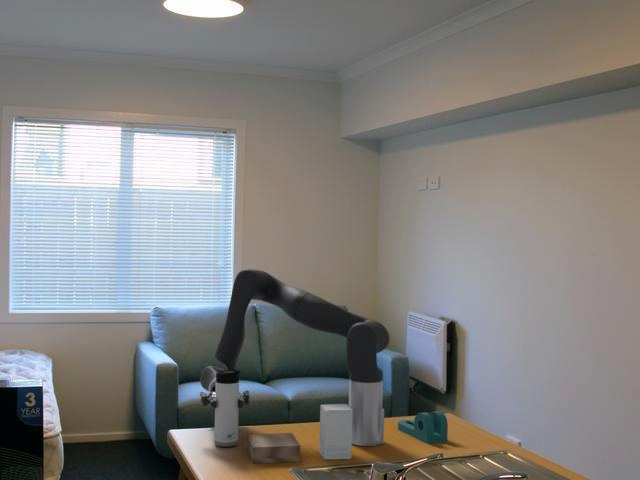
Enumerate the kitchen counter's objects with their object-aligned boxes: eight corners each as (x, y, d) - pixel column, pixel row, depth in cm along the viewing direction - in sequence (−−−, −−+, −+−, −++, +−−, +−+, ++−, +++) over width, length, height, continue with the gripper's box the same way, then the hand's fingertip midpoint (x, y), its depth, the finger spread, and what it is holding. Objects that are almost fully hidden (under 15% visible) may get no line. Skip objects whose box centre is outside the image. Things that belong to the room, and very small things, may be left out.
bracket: (447, 442, 211) (447, 414, 211) (426, 444, 208) (427, 416, 208) (412, 426, 228) (413, 400, 228) (393, 428, 225) (394, 402, 225)
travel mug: (234, 447, 198) (236, 372, 198) (211, 445, 200) (212, 370, 199) (242, 441, 205) (243, 367, 204) (218, 439, 206) (220, 366, 206)
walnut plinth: (291, 447, 201) (291, 432, 201) (300, 461, 189) (300, 445, 189) (246, 449, 198) (246, 434, 198) (252, 463, 187) (252, 447, 187)
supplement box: (352, 459, 192) (353, 409, 192) (323, 460, 191) (324, 410, 191) (346, 451, 200) (347, 403, 199) (318, 451, 198) (319, 403, 198)
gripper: (197, 378, 214) (200, 391, 198) (247, 377, 217) (255, 389, 201) (196, 404, 215) (200, 419, 198) (247, 403, 218) (254, 417, 201)
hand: (227, 404), depth 200 cm, fingers closed on travel mug, 6 cm apart
